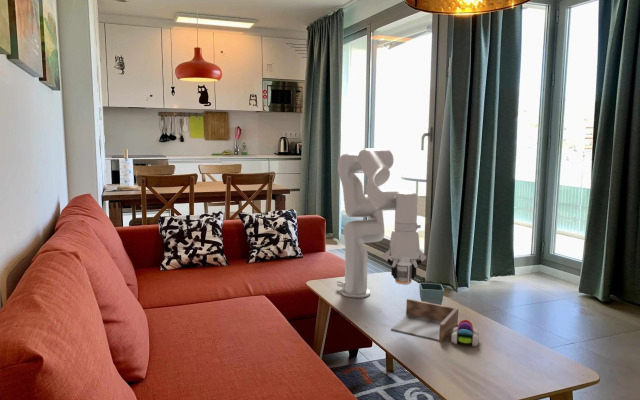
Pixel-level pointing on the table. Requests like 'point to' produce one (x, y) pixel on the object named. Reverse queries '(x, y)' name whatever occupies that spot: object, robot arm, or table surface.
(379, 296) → the table surface
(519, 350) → the table surface
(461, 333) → the rainbow petal toy
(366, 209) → the robot arm
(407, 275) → the pill bottle
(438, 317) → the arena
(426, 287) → the flower pot
